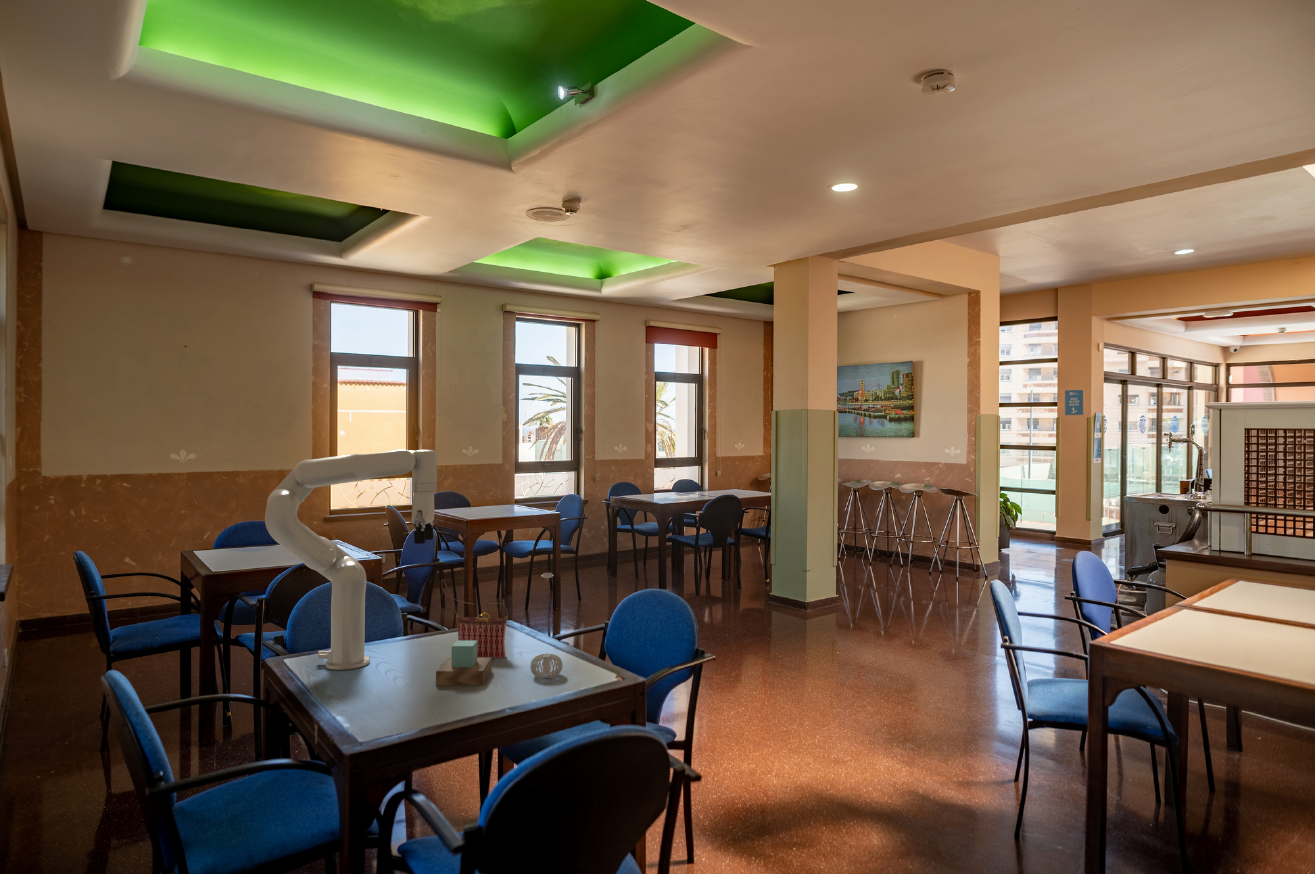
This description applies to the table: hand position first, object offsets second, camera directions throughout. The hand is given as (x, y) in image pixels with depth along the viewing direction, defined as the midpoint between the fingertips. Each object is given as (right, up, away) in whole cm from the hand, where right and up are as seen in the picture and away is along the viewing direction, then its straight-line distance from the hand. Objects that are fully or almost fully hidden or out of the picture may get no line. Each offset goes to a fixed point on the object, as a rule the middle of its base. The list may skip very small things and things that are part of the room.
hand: (423, 541), depth 235 cm
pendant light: (+43, -37, -22) cm, 60 cm away
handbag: (+17, -37, -4) cm, 41 cm away
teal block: (+19, -32, -24) cm, 44 cm away
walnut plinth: (+19, -36, -24) cm, 47 cm away
